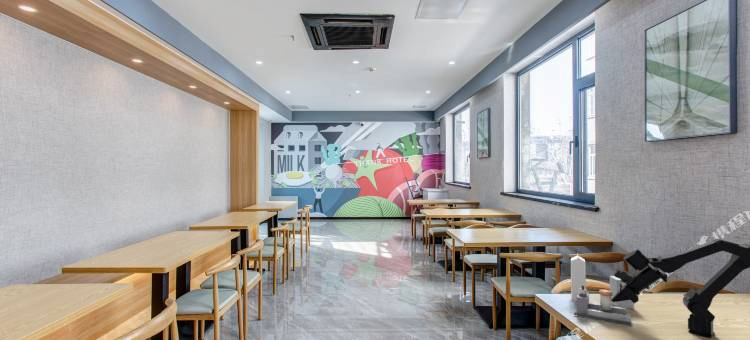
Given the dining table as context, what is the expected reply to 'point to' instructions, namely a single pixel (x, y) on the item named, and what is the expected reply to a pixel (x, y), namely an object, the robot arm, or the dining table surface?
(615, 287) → the supplement box
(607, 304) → the knob
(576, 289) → the milk
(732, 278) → the robot arm
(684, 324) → the dining table surface
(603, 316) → the mount
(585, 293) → the potentiometer
